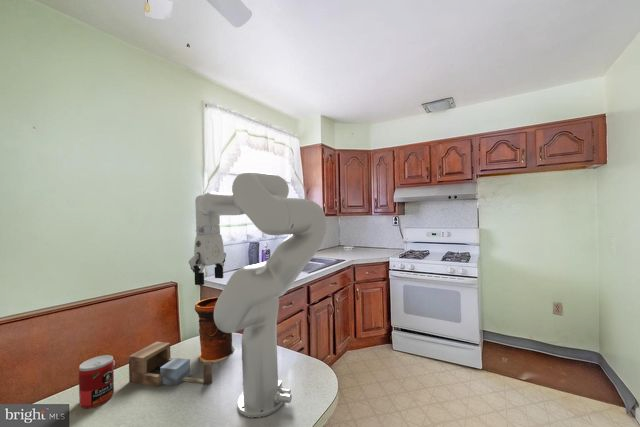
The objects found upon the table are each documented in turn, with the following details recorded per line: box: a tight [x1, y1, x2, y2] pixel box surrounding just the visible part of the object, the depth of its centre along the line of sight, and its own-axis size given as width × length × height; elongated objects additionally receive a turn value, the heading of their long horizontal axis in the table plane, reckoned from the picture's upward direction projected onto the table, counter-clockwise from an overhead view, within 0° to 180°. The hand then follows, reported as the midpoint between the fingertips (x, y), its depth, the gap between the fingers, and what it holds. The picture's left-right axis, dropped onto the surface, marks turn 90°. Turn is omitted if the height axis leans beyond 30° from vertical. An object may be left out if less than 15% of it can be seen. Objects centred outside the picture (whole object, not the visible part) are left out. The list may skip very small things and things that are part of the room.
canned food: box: [78, 354, 115, 409], centre depth 77 cm, size 8×8×11 cm
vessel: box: [194, 296, 236, 363], centre depth 102 cm, size 14×14×20 cm
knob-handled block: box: [159, 357, 213, 387], centre depth 84 cm, size 16×6×6 cm, turn 76°
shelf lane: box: [128, 341, 175, 388], centre depth 88 cm, size 12×10×8 cm
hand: (209, 281), depth 90 cm, fingers open, 9 cm apart
